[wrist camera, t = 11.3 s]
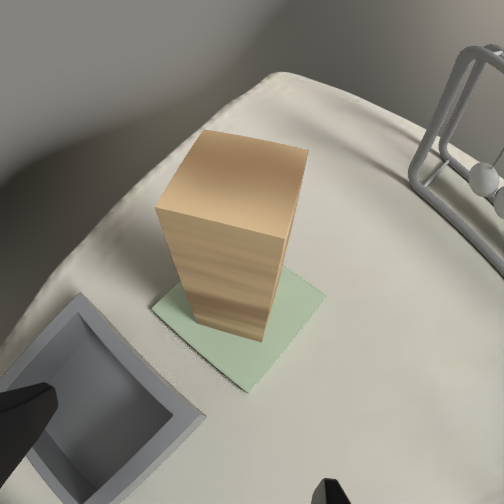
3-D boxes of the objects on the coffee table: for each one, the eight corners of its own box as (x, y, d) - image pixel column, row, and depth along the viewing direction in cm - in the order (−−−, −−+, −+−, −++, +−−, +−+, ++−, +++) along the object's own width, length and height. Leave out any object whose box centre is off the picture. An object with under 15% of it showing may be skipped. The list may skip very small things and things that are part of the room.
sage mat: (247, 393, 19) (248, 392, 19) (153, 311, 22) (151, 308, 22) (324, 298, 23) (326, 295, 23) (233, 233, 26) (232, 229, 25)
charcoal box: (107, 513, 14) (84, 525, 10) (18, 402, 17) (-12, 393, 14) (207, 416, 18) (199, 414, 15) (101, 313, 22) (80, 291, 18)
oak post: (261, 342, 21) (285, 239, 10) (197, 323, 21) (154, 207, 11) (278, 284, 23) (308, 150, 12) (218, 267, 24) (203, 129, 13)
